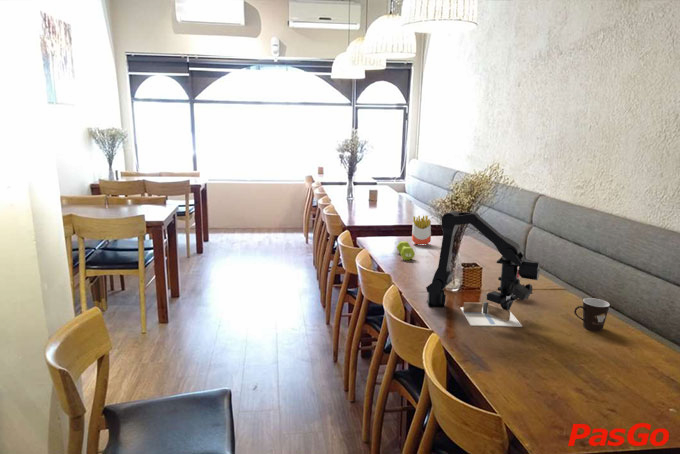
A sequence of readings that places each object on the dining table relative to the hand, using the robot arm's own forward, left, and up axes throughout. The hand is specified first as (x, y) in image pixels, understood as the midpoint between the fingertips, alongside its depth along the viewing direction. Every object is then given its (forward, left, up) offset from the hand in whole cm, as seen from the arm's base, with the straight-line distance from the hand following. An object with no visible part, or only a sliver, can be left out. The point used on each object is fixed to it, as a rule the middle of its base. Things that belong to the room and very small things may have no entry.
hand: (505, 314), depth 178 cm
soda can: (+11, +28, -2) cm, 30 cm away
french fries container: (-17, +112, -2) cm, 113 cm away
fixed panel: (-10, +5, -2) cm, 12 cm away
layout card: (-5, +2, -2) cm, 6 cm away
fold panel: (-3, 0, -1) cm, 3 cm away
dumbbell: (-29, +85, -2) cm, 90 cm away
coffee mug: (+28, -6, -2) cm, 29 cm away
